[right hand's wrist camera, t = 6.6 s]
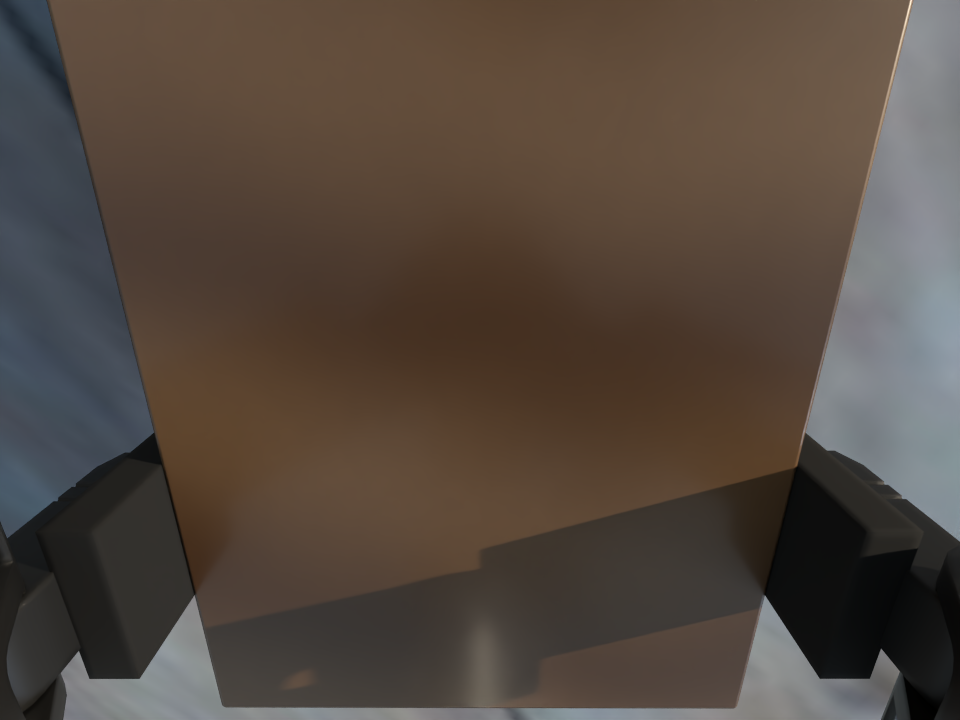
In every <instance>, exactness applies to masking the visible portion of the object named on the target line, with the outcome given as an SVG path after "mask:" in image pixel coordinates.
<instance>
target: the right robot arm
mask: <svg viewBox="0 0 960 720" xmlns="http://www.w3.org/2000/svg"><path fill="white" fill-rule="evenodd" d="M194 595H195V594H194V590H193V586H192V582H191V577H190V573H189V569H188V565H187V561H186V557H185V553H184V549H183V545H182V541H181V537H180V533H179V529H178V525H177V521H176V517H175V513H174V509H173V505H172V501H171V497H170V493H169V489H168V485H167V481H166V477H165V473H164V469H163V465H162V461H161V457H160V453H159V449H158V445H157V441H156V437H155V433H153V434H152V435H151V436H150V437H148V438H147V439H146V440H145V441H144V442H142V443H141V444H140V445H139V446H138V447H136V448H135V449H134V450H133V451H132V452H130V453H124V454H122V455H120V456H118V457H116V458H114V459H112V460H110V461H108V462H106V463H104V464H102V465H100V466H98V467H96V468H95V469H94V470H92V471H91V472H90V473H89V474H87V475H86V476H85V477H84V478H82V479H81V480H80V481H79V482H77V483H76V487H71V488H70V489H69V490H67V491H66V492H65V493H64V494H62V495H61V496H60V497H59V498H58V501H54V502H52V503H51V504H50V505H49V506H47V507H46V508H45V509H44V510H42V511H41V512H40V513H39V514H37V515H36V516H35V517H34V518H32V519H31V520H30V521H29V522H27V523H26V524H25V525H24V526H22V527H21V528H20V529H19V530H17V531H16V532H15V533H14V534H12V535H11V536H10V537H9V538H7V537H6V535H5V532H4V530H3V527H2V525H1V522H0V720H63V717H64V710H65V703H66V697H67V694H66V688H65V683H64V681H63V678H62V676H61V672H62V670H63V669H64V668H65V667H66V666H67V664H68V663H69V662H70V661H71V659H72V658H73V657H74V656H75V655H76V653H77V652H78V651H79V652H80V655H81V657H82V660H83V663H84V665H85V668H86V671H87V673H88V676H89V679H140V677H141V676H142V674H143V673H144V671H145V670H146V668H147V667H148V665H149V663H150V662H151V660H152V659H153V657H154V656H155V654H156V653H157V651H158V650H159V648H160V647H161V645H162V644H163V642H164V641H165V639H166V638H167V636H168V635H169V633H170V631H171V630H172V628H173V627H174V625H175V624H176V622H177V621H178V619H179V618H180V616H181V615H182V613H183V612H184V610H185V609H186V607H187V606H188V604H189V603H190V601H191V600H192V598H193V596H194ZM765 596H766V597H767V599H768V600H769V602H770V603H771V605H772V606H773V608H774V610H775V611H776V613H777V614H778V616H779V617H780V619H781V620H782V622H783V623H784V625H785V626H786V628H787V629H788V631H789V632H790V634H791V635H792V637H793V638H794V640H795V641H796V643H797V645H798V646H799V648H800V649H801V651H802V652H803V654H804V655H805V657H806V658H807V660H808V661H809V663H810V664H811V666H812V667H813V669H814V670H815V672H816V673H817V675H818V677H819V678H820V679H870V677H871V674H872V671H873V669H874V666H875V663H876V660H877V658H878V655H879V652H880V650H881V649H882V650H883V651H884V652H885V654H886V655H887V656H888V657H889V658H890V660H891V661H892V662H893V663H894V665H895V666H896V667H897V668H898V669H899V671H900V673H899V676H898V678H897V681H896V683H895V686H894V688H893V691H892V693H891V696H890V698H889V701H888V703H887V706H886V708H885V711H884V713H883V716H882V718H881V720H960V542H959V541H958V540H957V539H956V538H954V537H953V536H952V535H951V534H949V533H948V532H947V531H946V530H944V529H943V528H942V527H941V526H939V525H938V524H937V523H935V522H934V521H933V520H932V519H930V518H929V517H928V516H927V515H925V514H924V513H923V512H922V511H920V510H919V509H918V508H917V507H915V506H914V505H913V504H912V503H910V502H909V501H908V500H906V499H902V496H901V495H900V494H899V493H898V492H896V491H895V490H894V489H893V488H891V487H890V486H889V485H884V481H883V480H881V479H880V478H879V477H877V476H876V475H875V474H874V473H872V472H871V471H870V470H869V469H867V468H866V467H865V466H864V465H862V464H860V463H858V462H856V461H854V460H852V459H850V458H848V457H846V456H844V455H842V454H840V453H838V452H836V451H827V450H825V449H824V448H823V447H822V446H821V445H819V444H818V443H817V442H816V441H815V440H813V439H812V438H811V437H810V436H809V435H807V434H806V433H805V436H804V440H803V444H802V448H801V452H800V456H799V460H798V464H797V468H796V472H795V476H794V480H793V484H792V488H791V492H790V496H789V500H788V504H787V508H786V512H785V516H784V520H783V524H782V528H781V532H780V536H779V540H778V544H777V548H776V552H775V556H774V560H773V564H772V568H771V572H770V576H769V580H768V584H767V588H766V592H765Z"/></svg>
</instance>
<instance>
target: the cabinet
mask: <svg viewBox="0 0 960 720" xmlns="http://www.w3.org/2000/svg"><path fill="white" fill-rule="evenodd" d="M47 4H48V8H49V12H50V16H51V20H52V24H53V28H54V32H55V36H56V40H57V44H58V48H59V52H60V56H61V60H62V64H63V68H64V72H65V76H66V80H67V84H68V88H69V92H70V96H71V100H72V104H73V108H74V112H75V116H76V120H77V124H78V128H79V132H80V136H81V140H82V144H83V148H84V152H85V156H86V160H87V164H88V168H89V172H90V176H91V180H92V184H93V188H94V192H95V196H96V200H97V204H98V208H99V212H100V216H101V220H102V224H103V228H104V232H105V236H106V240H107V244H108V248H109V252H110V256H111V260H112V264H113V268H114V272H115V277H116V281H117V285H118V289H119V293H120V297H121V301H122V305H123V309H124V313H125V317H126V321H127V325H128V329H129V333H130V337H131V341H132V345H133V349H134V353H135V357H136V361H137V365H138V369H139V373H140V377H141V381H142V385H143V389H144V393H145V397H146V401H147V405H148V409H149V413H150V417H151V421H152V425H153V429H154V433H155V437H156V441H157V445H158V449H159V453H160V457H161V461H162V465H163V469H164V473H165V477H166V481H167V485H168V489H169V493H170V497H171V501H172V505H173V509H174V513H175V517H176V521H177V525H178V529H179V533H180V537H181V541H182V545H183V549H184V553H185V557H186V561H187V565H188V569H189V573H190V577H191V582H192V586H193V590H194V594H195V598H196V602H197V606H198V610H199V614H200V618H201V622H202V626H203V630H204V634H205V638H206V642H207V646H208V650H209V654H210V658H211V662H212V666H213V670H214V674H215V678H216V682H217V686H218V690H219V694H220V698H221V702H222V705H223V706H224V707H296V708H736V707H737V704H738V700H739V696H740V692H741V688H742V684H743V680H744V676H745V672H746V668H747V664H748V660H749V656H750V652H751V648H752V644H753V640H754V636H755V632H756V628H757V624H758V620H759V616H760V612H761V608H762V604H763V600H764V596H765V592H766V588H767V584H768V580H769V576H770V572H771V568H772V564H773V560H774V556H775V552H776V548H777V544H778V540H779V536H780V532H781V528H782V524H783V520H784V516H785V512H786V508H787V504H788V500H789V496H790V492H791V488H792V484H793V480H794V476H795V472H796V468H797V464H798V460H799V456H800V452H801V448H802V444H803V440H804V436H805V432H806V428H807V424H808V420H809V416H810V412H811V408H812V404H813V400H814V396H815V392H816V388H817V384H818V380H819V376H820V372H821V368H822V364H823V360H824V356H825V352H826V348H827V344H828V340H829V336H830V332H831V328H832V324H833V320H834V316H835V312H836V308H837V304H838V300H839V296H840V292H841V288H842V284H843V280H844V276H845V272H846V268H847V264H848V260H849V256H850V252H851V248H852V244H853V240H854V236H855V232H856V228H857V224H858V220H859V216H860V212H861V208H862V204H863V200H864V196H865V192H866V188H867V184H868V180H869V176H870V172H871V168H872V164H873V160H874V156H875V152H876V148H877V144H878V140H879V136H880V132H881V128H882V124H883V120H884V116H885V112H886V108H887V104H888V100H889V96H890V92H891V88H892V84H893V80H894V76H895V72H896V68H897V64H898V60H899V56H900V52H901V48H902V44H903V40H904V36H905V32H906V28H907V24H908V20H909V16H910V12H911V8H912V4H913V0H47Z"/></svg>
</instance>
